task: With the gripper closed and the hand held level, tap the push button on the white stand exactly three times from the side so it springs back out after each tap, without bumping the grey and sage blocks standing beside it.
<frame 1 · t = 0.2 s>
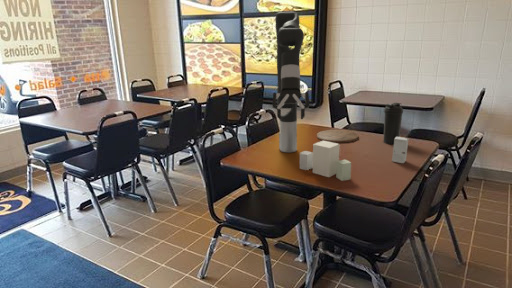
hand: (290, 119, 143), 31 cm above the table, tool tilted 20°, fingers open, 8 cm apart
button: (329, 152, 172), point 9 cm above the table, slide at 0.0 cm
grey block: (306, 168, 179), on the table
skincare box: (399, 161, 184), on the table
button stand: (325, 172, 173), on the table
water bottle: (390, 142, 215), on the table
sage block: (343, 178, 165), on the table
trivet: (337, 138, 229), on the table
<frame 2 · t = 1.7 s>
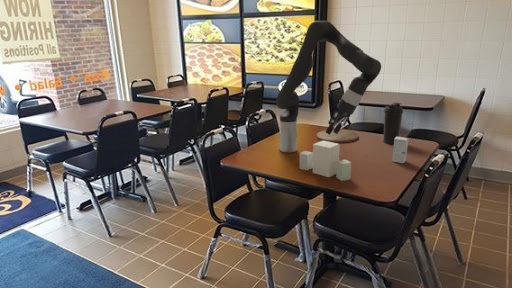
hand: (331, 133, 163), 20 cm above the table, tool tilted 25°, fingers open, 8 cm apart
nothing on the table moved.
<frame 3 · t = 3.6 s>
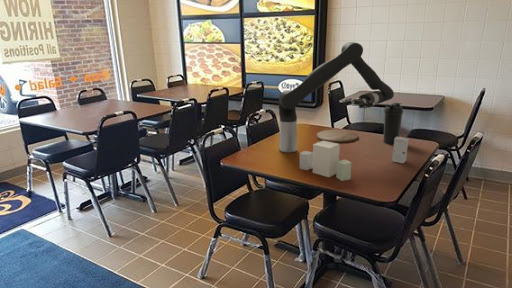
hand: (352, 105, 183), 28 cm above the table, tool horizontal, fingers open, 8 cm apart
nothing on the table moved.
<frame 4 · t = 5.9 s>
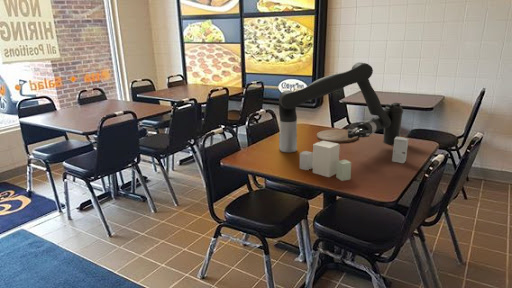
hand: (349, 136, 183), 13 cm above the table, tool horizontal, fingers closed
nothing on the table moved.
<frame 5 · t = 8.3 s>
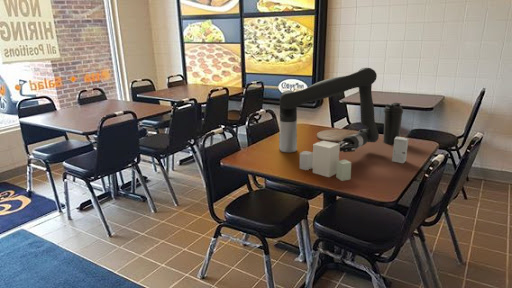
hand: (334, 150, 175), 9 cm above the table, tool horizontal, fingers closed
button: (328, 153, 171), point 9 cm above the table, slide at 0.9 cm, touching gripper
everything else where it was.
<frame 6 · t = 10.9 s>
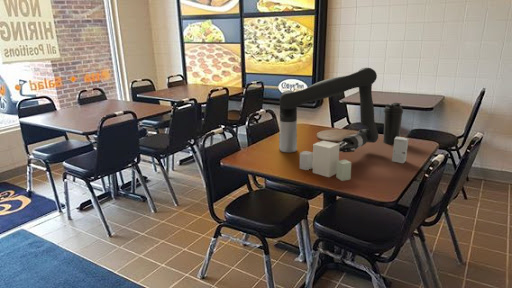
hand: (333, 151, 174), 9 cm above the table, tool horizontal, fingers closed
button: (327, 153, 171), point 9 cm above the table, slide at 1.4 cm, touching gripper
everything else where it was.
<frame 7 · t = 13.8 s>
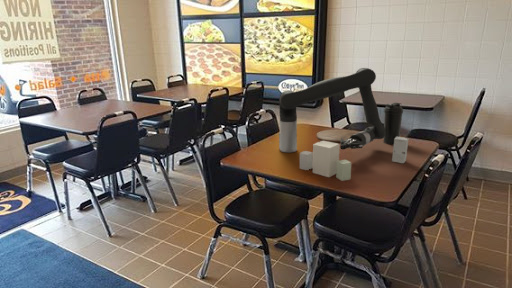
hand: (342, 147, 179), 9 cm above the table, tool horizontal, fingers closed
button: (329, 152, 172), point 9 cm above the table, slide at 0.2 cm
everything else where it was.
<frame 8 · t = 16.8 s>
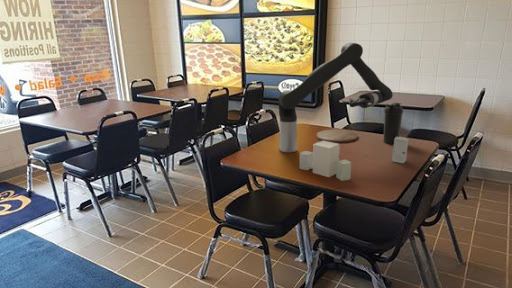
hand: (351, 105, 183), 28 cm above the table, tool horizontal, fingers closed
nothing on the table moved.
at the end: button slide at 0.2 cm; grey block moved 0.1 cm from its start; sage block moved 0.1 cm from its start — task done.
